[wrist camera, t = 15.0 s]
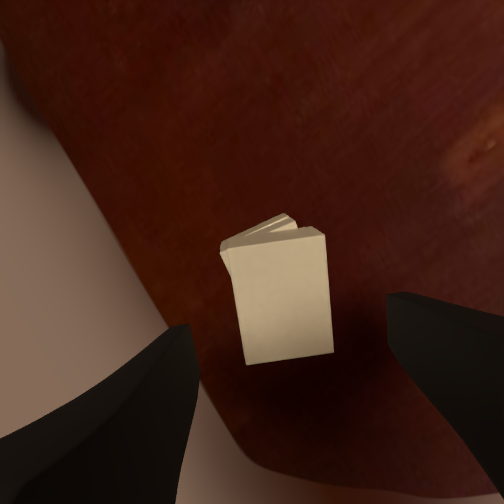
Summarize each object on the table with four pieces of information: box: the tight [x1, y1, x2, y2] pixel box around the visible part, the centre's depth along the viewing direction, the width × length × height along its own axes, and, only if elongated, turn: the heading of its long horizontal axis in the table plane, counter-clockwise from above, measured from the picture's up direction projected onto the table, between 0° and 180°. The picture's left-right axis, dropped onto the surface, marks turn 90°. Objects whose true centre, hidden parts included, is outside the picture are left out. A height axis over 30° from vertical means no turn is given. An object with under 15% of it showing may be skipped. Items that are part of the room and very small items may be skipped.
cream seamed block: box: [220, 213, 298, 276], centre depth 17 cm, size 6×4×3 cm
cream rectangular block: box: [227, 226, 334, 365], centre depth 14 cm, size 6×4×2 cm
